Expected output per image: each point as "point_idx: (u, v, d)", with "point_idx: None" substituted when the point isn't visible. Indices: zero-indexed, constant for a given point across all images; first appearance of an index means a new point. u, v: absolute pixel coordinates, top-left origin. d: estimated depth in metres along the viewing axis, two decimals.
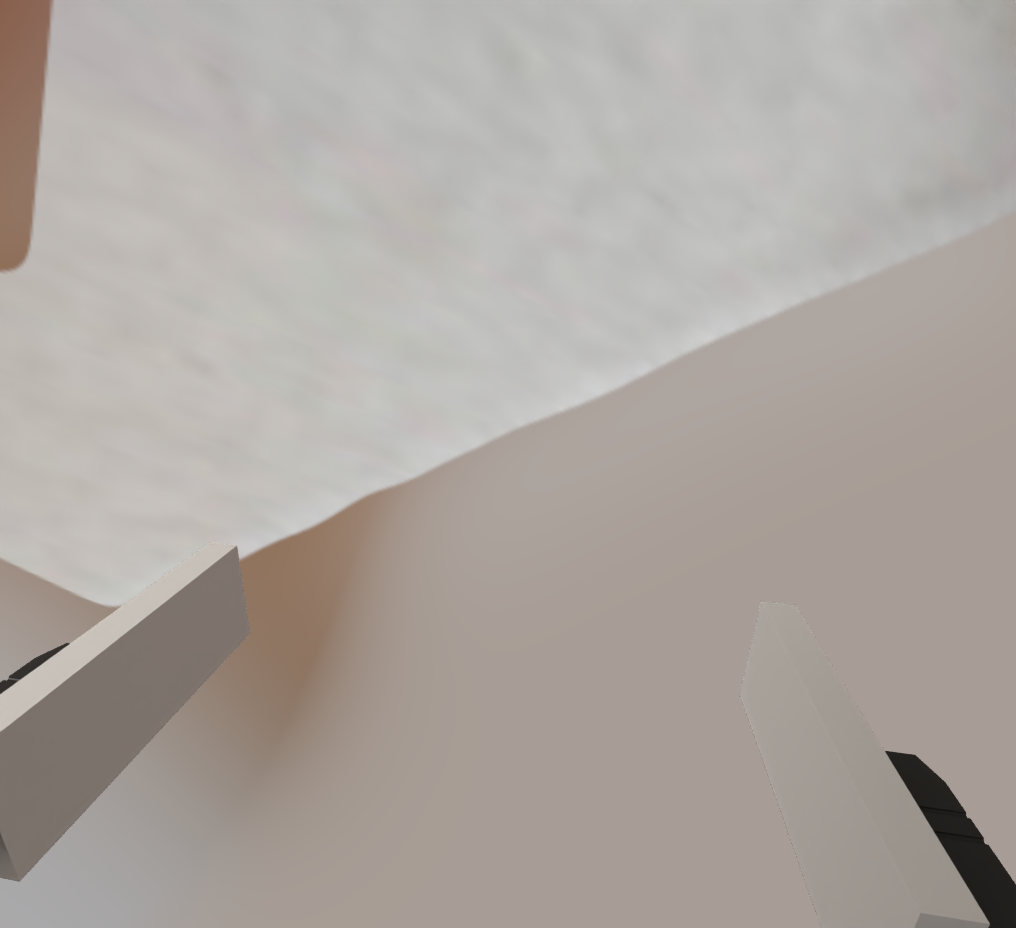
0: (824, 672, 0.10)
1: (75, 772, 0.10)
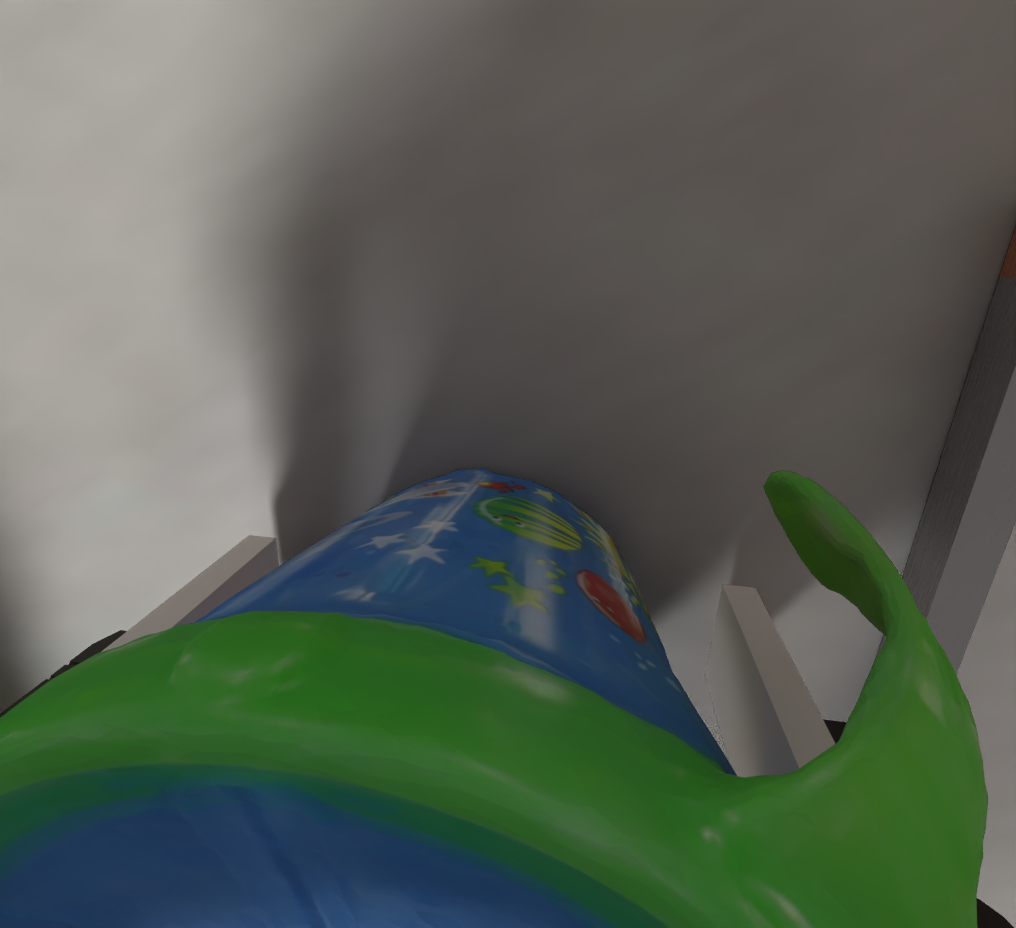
0: (774, 648, 0.11)
1: None
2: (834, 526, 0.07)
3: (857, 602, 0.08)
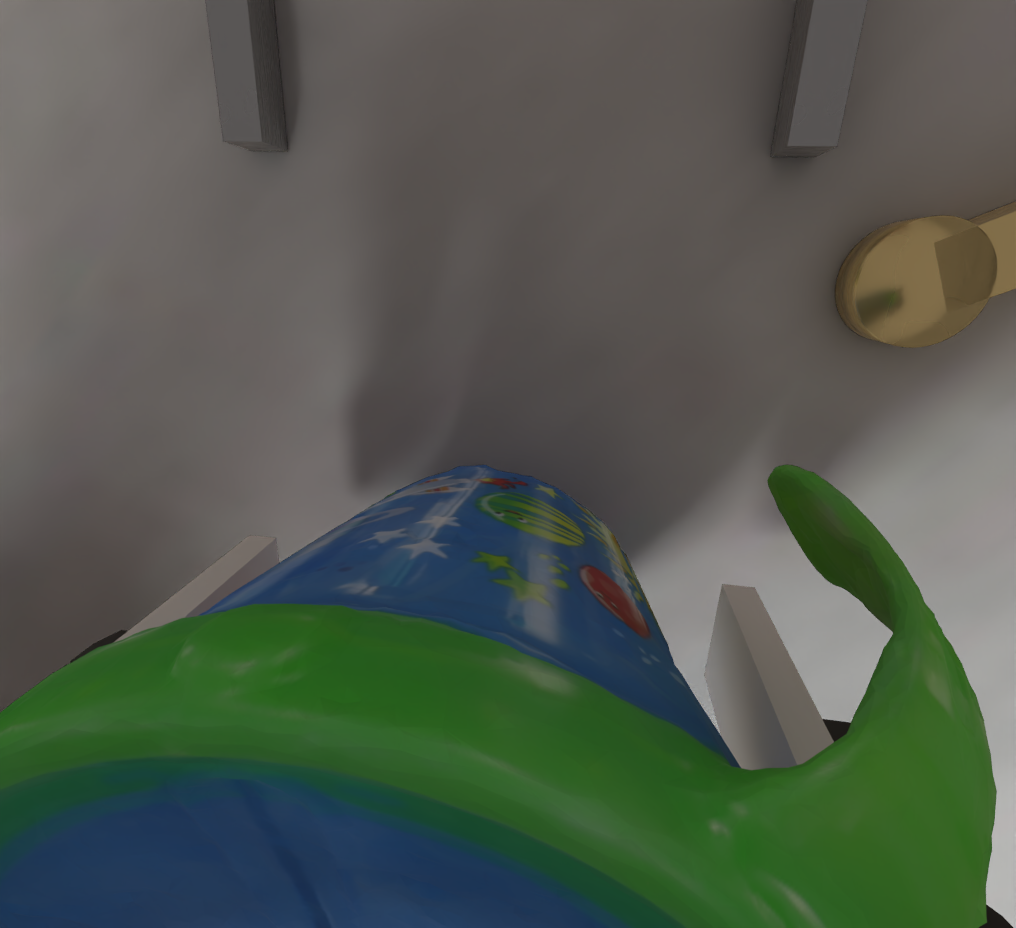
0: (774, 648, 0.11)
1: None
2: (839, 519, 0.07)
3: (862, 597, 0.08)
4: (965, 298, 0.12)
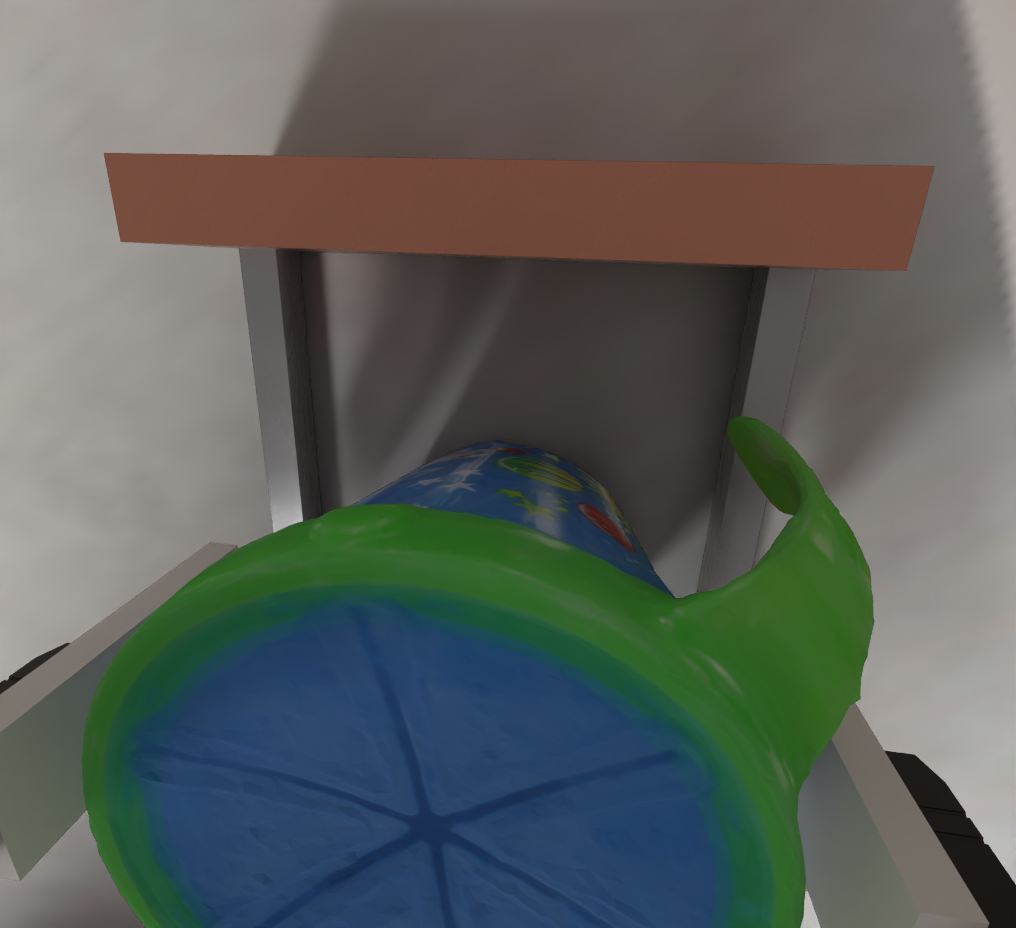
0: None
1: (75, 772, 0.10)
2: (771, 449, 0.09)
3: None
4: None
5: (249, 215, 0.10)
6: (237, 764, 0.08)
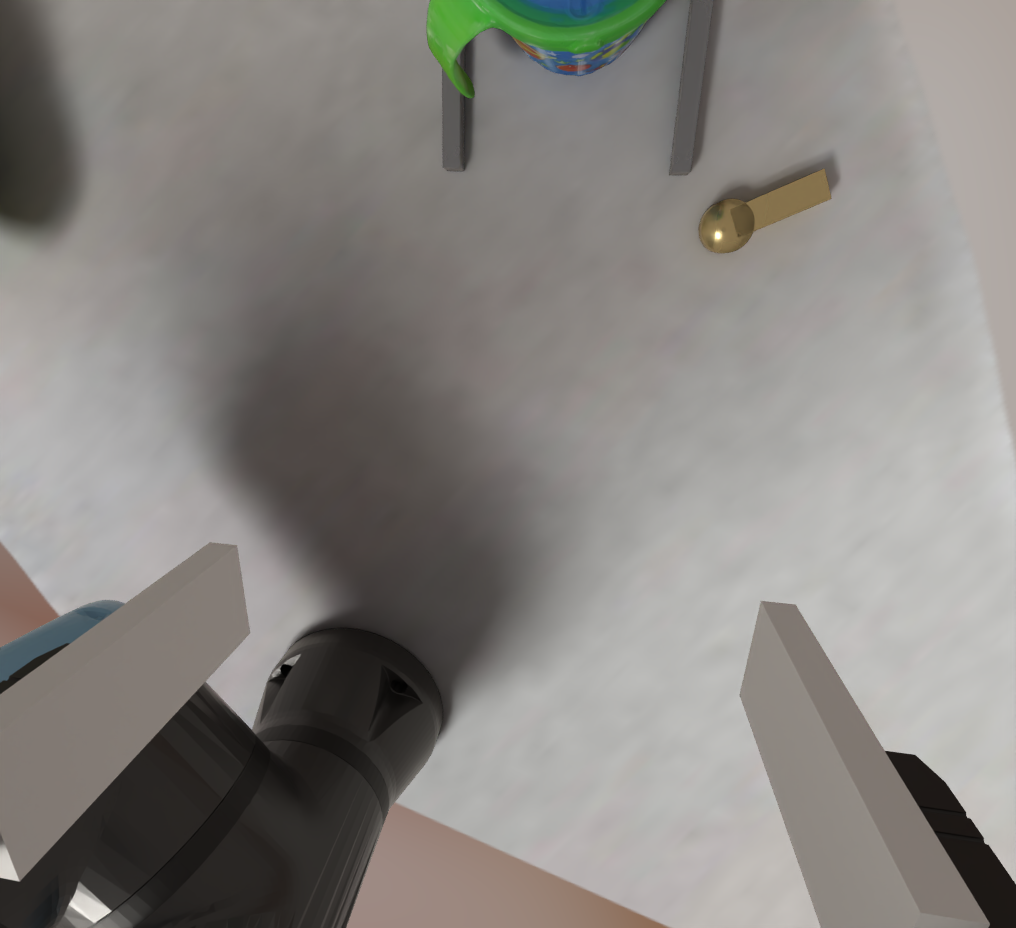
0: (824, 672, 0.10)
1: (75, 772, 0.10)
2: None
3: None
4: (744, 231, 0.31)
5: None
6: None
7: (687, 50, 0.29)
